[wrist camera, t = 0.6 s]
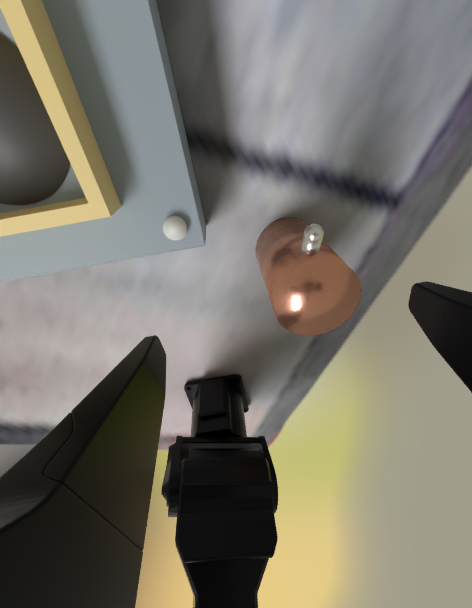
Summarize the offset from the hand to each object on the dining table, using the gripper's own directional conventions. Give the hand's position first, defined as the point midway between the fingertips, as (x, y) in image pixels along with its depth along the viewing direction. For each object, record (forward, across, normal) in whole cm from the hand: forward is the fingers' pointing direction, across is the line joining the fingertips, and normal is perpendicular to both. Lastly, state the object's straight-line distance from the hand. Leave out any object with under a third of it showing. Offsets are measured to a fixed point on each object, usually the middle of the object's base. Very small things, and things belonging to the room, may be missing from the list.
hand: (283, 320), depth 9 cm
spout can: (+13, -3, +3) cm, 14 cm away
